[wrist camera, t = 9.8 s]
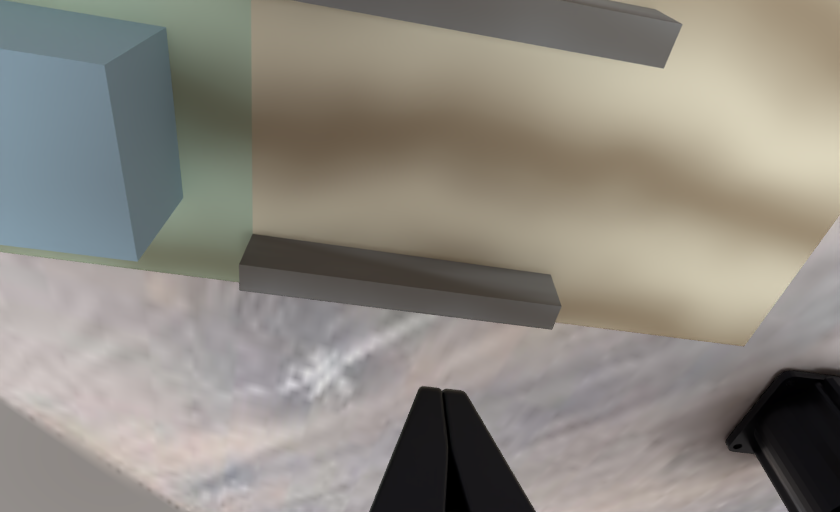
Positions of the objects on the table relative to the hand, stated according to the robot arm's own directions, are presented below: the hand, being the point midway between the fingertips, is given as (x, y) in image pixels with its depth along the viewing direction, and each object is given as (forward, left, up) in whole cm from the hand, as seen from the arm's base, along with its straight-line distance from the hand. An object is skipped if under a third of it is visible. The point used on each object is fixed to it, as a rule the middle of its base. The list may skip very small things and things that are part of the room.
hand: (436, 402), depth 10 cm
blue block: (0, +11, -11) cm, 16 cm away
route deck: (0, +5, -13) cm, 14 cm away
